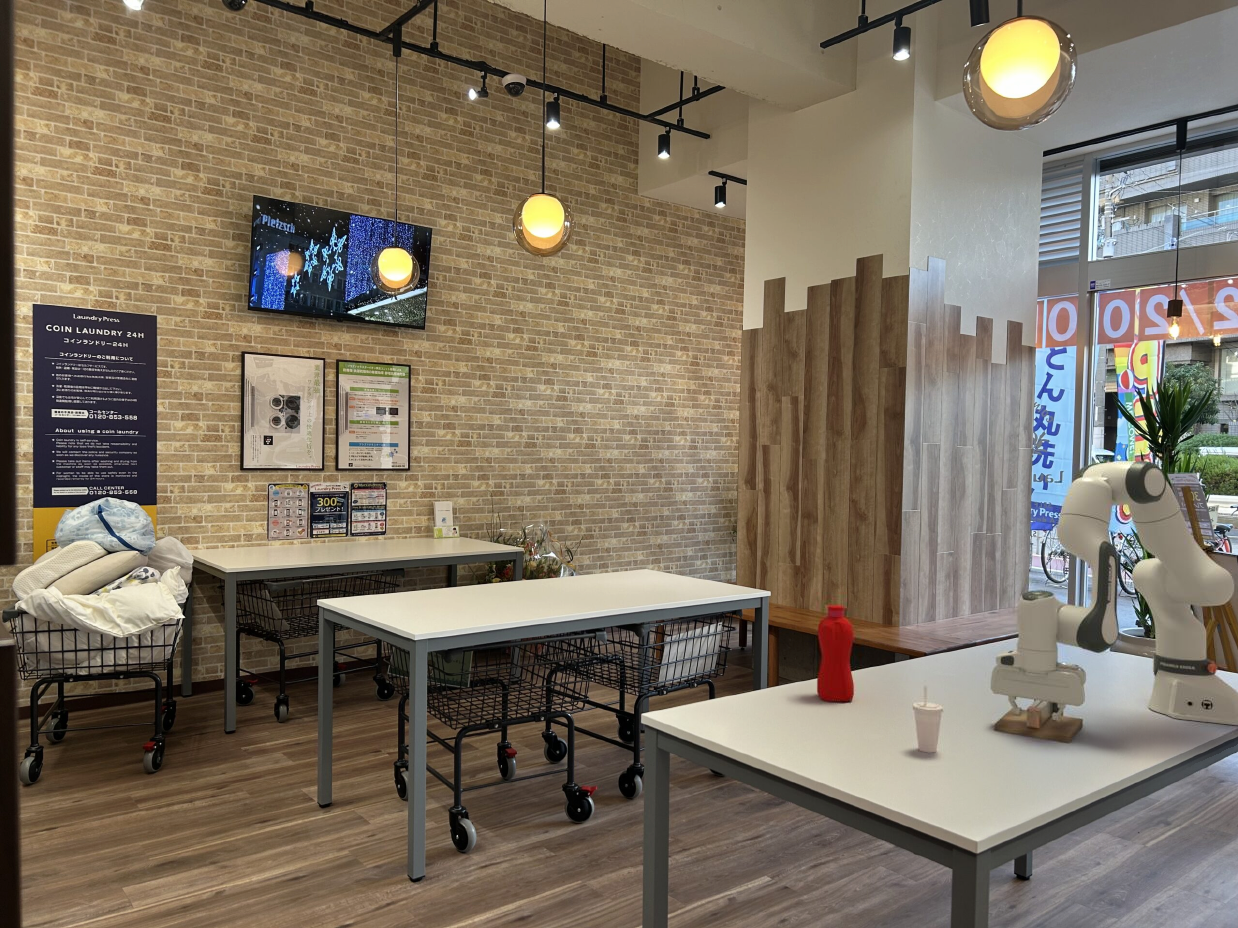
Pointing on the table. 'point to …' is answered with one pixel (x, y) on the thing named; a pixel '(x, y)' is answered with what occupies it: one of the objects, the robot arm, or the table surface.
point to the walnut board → (1048, 730)
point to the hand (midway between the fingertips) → (1036, 718)
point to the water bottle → (835, 656)
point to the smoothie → (927, 723)
